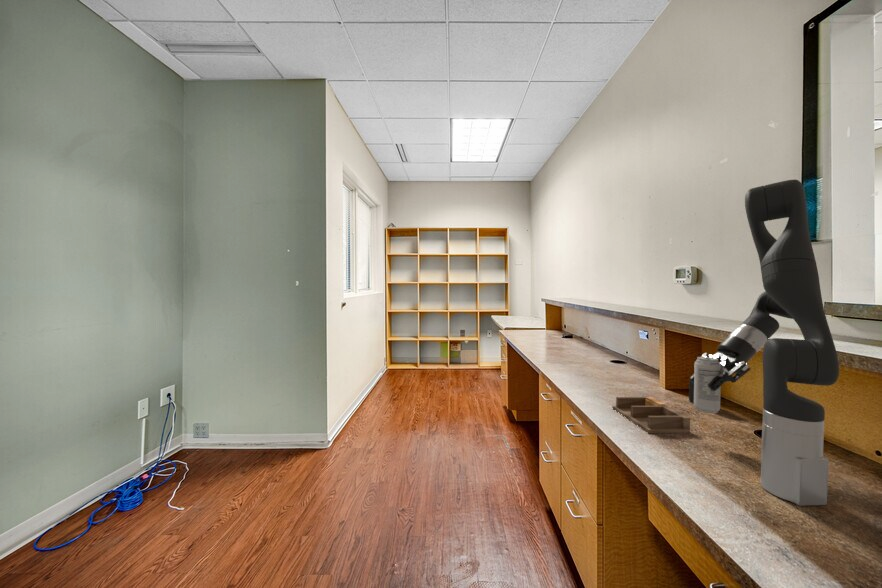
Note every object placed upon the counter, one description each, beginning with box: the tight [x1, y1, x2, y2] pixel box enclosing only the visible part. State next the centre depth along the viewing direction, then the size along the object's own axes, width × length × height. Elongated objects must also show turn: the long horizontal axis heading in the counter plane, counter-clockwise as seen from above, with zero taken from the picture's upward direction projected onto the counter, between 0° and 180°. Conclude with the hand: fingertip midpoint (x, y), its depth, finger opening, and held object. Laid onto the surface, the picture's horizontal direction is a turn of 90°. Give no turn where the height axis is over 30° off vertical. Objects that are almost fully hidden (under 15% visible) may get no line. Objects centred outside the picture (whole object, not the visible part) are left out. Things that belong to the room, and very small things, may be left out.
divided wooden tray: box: [611, 395, 691, 434], centre depth 114 cm, size 20×13×5 cm, turn 3°
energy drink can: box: [693, 356, 722, 414], centre depth 99 cm, size 6×6×15 cm
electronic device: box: [688, 375, 694, 405], centre depth 128 cm, size 4×10×10 cm, turn 174°
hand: (701, 385), depth 99 cm, fingers closed on energy drink can, 6 cm apart
